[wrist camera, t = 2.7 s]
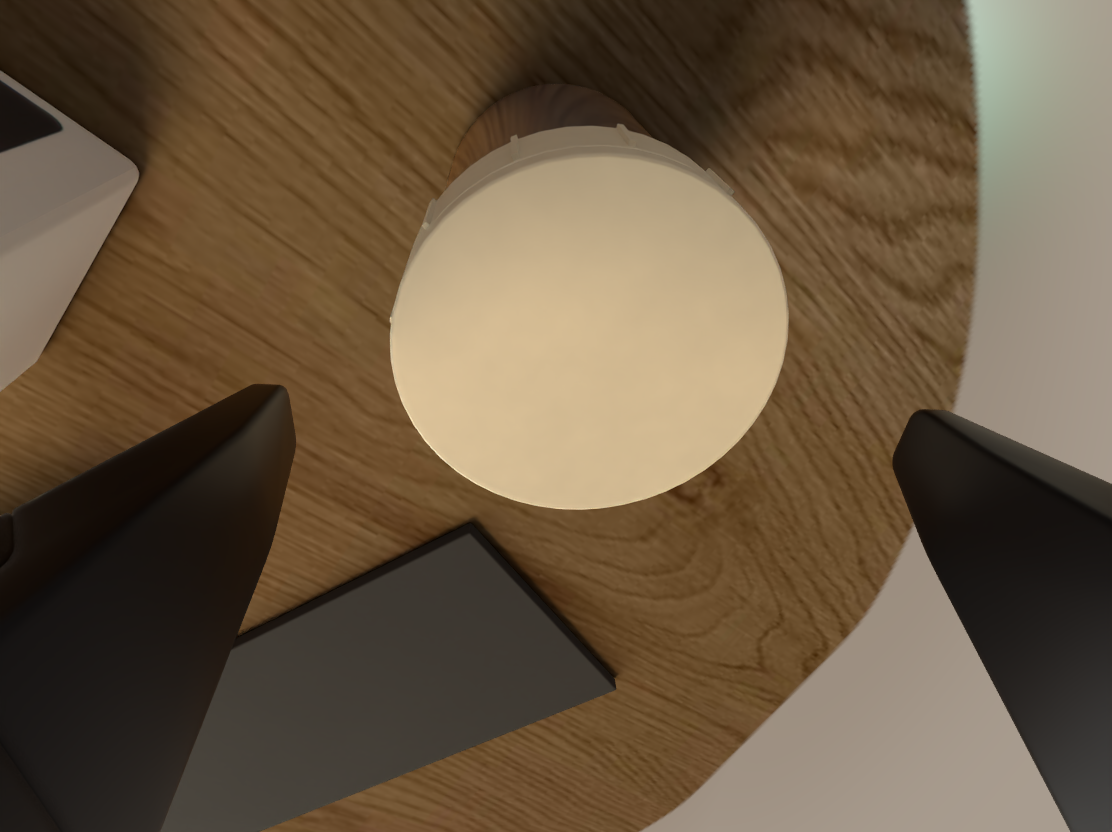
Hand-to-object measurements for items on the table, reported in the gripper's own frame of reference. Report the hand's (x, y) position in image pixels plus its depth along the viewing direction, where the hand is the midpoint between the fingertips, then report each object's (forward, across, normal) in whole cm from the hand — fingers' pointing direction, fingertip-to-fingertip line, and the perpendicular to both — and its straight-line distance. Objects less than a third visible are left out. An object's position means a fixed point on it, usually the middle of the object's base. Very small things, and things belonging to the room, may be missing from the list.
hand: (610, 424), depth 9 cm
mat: (+11, +15, +28) cm, 34 cm away
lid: (+2, 0, 0) cm, 2 cm away
